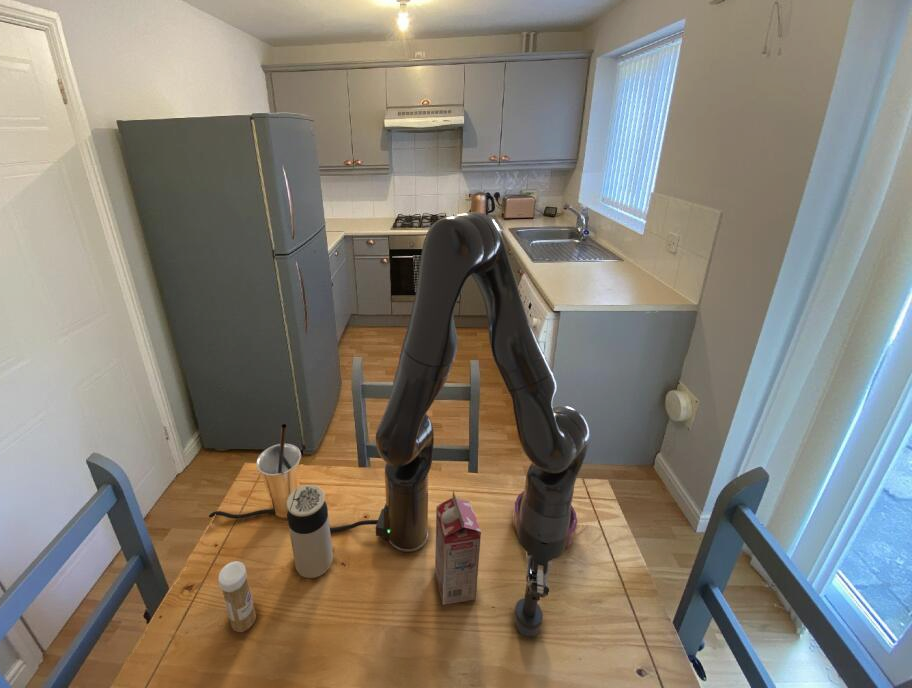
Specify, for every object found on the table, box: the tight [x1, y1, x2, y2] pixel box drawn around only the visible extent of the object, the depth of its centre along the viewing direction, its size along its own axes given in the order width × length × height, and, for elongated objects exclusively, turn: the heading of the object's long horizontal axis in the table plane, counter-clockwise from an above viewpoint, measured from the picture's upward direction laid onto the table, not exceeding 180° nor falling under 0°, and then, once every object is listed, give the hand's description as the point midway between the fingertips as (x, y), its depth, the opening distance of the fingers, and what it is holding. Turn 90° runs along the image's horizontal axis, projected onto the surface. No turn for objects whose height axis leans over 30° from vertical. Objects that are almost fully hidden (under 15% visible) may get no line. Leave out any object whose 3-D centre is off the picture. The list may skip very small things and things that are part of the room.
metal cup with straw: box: [256, 423, 302, 519], centre depth 97 cm, size 11×11×30 cm
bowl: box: [512, 490, 578, 551], centre depth 96 cm, size 13×13×5 cm
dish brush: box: [514, 578, 544, 638], centre depth 75 cm, size 5×5×15 cm
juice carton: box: [434, 490, 482, 606], centre depth 81 cm, size 7×7×22 cm
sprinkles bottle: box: [217, 560, 257, 633], centre depth 77 cm, size 5×5×14 cm
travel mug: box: [286, 484, 334, 579], centre depth 87 cm, size 8×8×18 cm
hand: (532, 589), depth 74 cm, fingers closed on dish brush
